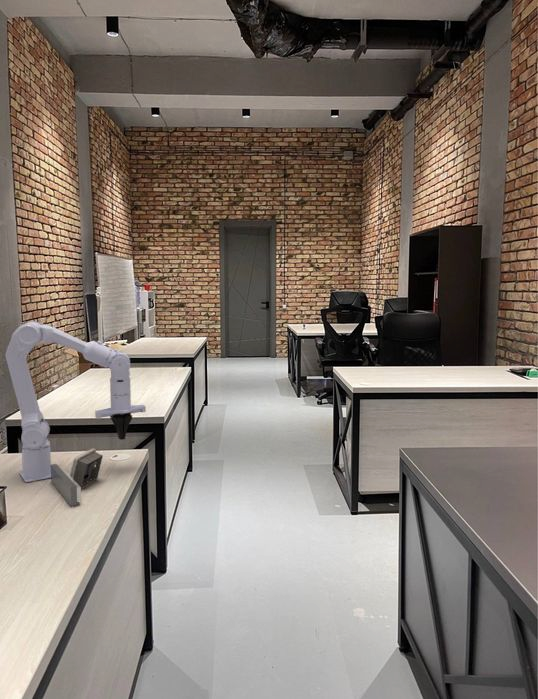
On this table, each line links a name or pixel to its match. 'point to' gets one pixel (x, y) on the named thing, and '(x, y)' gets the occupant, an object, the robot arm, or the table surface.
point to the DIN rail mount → (65, 485)
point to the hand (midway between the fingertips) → (121, 438)
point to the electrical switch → (86, 467)
